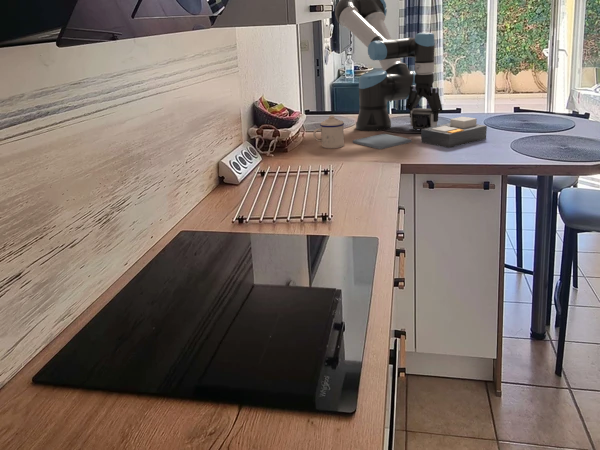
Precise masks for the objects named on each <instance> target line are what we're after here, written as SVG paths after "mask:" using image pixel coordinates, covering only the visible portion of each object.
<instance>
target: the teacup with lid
mask: <svg viewBox="0 0 600 450" xmlns="http://www.w3.org/2000/svg"><path fill="white" fill-rule="evenodd" d="M344 122H345V121H343V120H341V119H339V118H336V117H335V115H329V116H328V118H327V119H325V120H323V121H321V122H320V127H319V128H316V129H314V130H313V134H312V135H313V139H315V140H316V142H321V147H322V148H324V149H339V148H342V147H343V146H345V131H344V126H345V123H344ZM318 131H320V134H321V135H320V136H321V137H320V138H317V136H316V133H317V132H318Z"/></svg>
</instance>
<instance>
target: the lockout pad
mask: <svg viewBox="0 0 600 450" xmlns="http://www.w3.org/2000/svg"><path fill="white" fill-rule="evenodd" d="M412 142H413V141H412V139H411V138H407V137H402V136H399V135H398V136H397V135H392V134H387V133H381V134H375V135H371V136H367V137H361V138H357V139H353V140H352V143H353V144H358V145H360V146H361V145H362V146H364V147H369V148H374V149H378V150H382V149H387V148H392V147H396V146H399V145H400V146H401V145H404V144H409V143H412Z"/></svg>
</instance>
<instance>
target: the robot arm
mask: <svg viewBox="0 0 600 450" xmlns="http://www.w3.org/2000/svg"><path fill="white" fill-rule="evenodd" d="M387 11H388V9H387V3H386V1H385V0H339V1H338V3H337V4H336V6H335V9H334V15H335V19H336V21H337V23H338V24H339V25H340V26H341V27H342V28H345V29H348V31H349V32H351V33H352V34H353V35H354V36H355V37H356V38H357V39H358V40H359V41H360V42H361V43H362V44H363V45H364V46H365V47H366V48H367V54H368V57H369V59H370V60H372V61H379V64H380V66H381V68H382V70H375V71H368V72H366V73H363V74H361V75H360V76H359V78H358V95H359V96H358V97H359V112H358V115H357V118H356V122H355V129H356V130H359V131H365V132H366V131H367V132H376V131H377V132H378V131H384V130H389V129H391V128H392V121H391V118H390V114H389V111H388V102H391V101H392V102H393V101H401V100H404V101H405V100H406V104H405V109H408V110H409V118H410V120H409V121H410V127H413V124H412V109H413V108H417V107H418V103H419V102H420V100H421V98H425V100H427V103H428V105H429V109H431V110H432V112H433V113H432V114H431V127H434V126H438V121H439V114H440V113H443V106H442V101H441V98H440V93H439V90H440V89H439V87H433V84H434V83H435V80H434V79H435V78H434V77H435V74H434V72H435V46H436V45H435V44H436V41H435V34H434V33H433V32H420V33H416V34H415V35H414V37H410V36H409V37H402V38H395V39H394V38H392V37H391V35H390V32H389V30H388V28H387V26H386V23H385V20H386V16H387ZM403 58H404V59H405V58H414V70H409V67H408V65H407V64H406V63H405V62H402V60H401V59H403ZM390 127H391V128H390ZM388 128H389V129H388Z"/></svg>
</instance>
